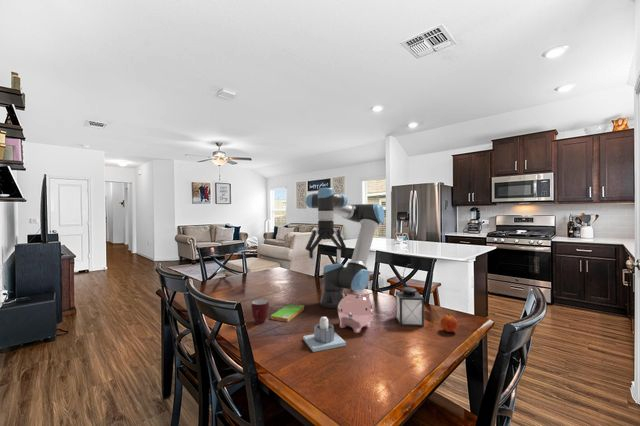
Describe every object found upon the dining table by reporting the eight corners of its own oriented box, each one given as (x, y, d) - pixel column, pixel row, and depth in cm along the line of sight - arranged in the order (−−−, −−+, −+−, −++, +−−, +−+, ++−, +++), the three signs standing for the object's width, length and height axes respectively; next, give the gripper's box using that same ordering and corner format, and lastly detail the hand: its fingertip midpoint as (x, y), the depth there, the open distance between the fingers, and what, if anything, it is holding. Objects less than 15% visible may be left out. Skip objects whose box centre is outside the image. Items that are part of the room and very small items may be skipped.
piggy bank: (363, 338, 125) (363, 300, 125) (331, 327, 137) (330, 293, 137) (381, 327, 136) (381, 293, 136) (350, 318, 148) (350, 286, 148)
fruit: (456, 329, 133) (456, 311, 133) (458, 335, 127) (458, 317, 127) (440, 327, 136) (440, 310, 136) (441, 333, 129) (441, 315, 129)
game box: (270, 321, 147) (289, 306, 166) (287, 324, 144) (305, 309, 163) (270, 315, 147) (289, 301, 166) (287, 318, 144) (305, 303, 163)
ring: (329, 333, 126) (329, 322, 126) (337, 341, 119) (337, 328, 119) (311, 336, 123) (311, 324, 123) (318, 344, 116) (318, 332, 116)
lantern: (418, 318, 148) (417, 262, 148) (424, 326, 137) (423, 266, 137) (395, 317, 149) (395, 262, 149) (399, 326, 138) (399, 266, 138)
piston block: (333, 334, 129) (333, 310, 129) (345, 345, 118) (345, 320, 118) (303, 339, 124) (303, 315, 124) (313, 352, 113) (313, 325, 113)
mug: (266, 327, 137) (265, 306, 137) (248, 327, 137) (248, 306, 137) (269, 319, 147) (269, 299, 147) (253, 319, 147) (253, 299, 147)
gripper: (345, 219, 150) (345, 260, 150) (298, 220, 140) (299, 264, 141) (352, 219, 143) (352, 263, 143) (303, 220, 133) (304, 267, 134)
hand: (326, 264), depth 142 cm, fingers open, 13 cm apart
